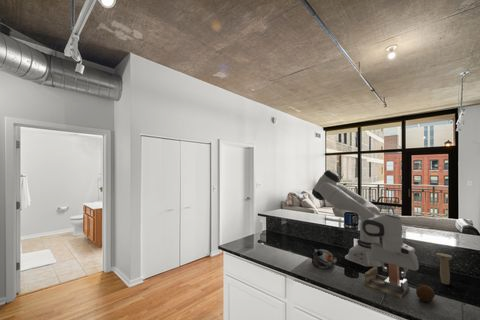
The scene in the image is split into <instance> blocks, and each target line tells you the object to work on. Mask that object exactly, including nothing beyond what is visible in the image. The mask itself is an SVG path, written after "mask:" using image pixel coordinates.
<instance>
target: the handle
mask: <svg viewBox="0 0 480 320" xmlns="http://www.w3.org/2000/svg"><path fill="white" fill-rule="evenodd" d="M435 256H436V257H437V258H438V259H439V277H440V282H441V283H442V284H444V285H450V282H451V281H450V280H451V273H450V265H449V263H450V262H449V261H450V260H452V259H453V255H451V254H446V253H441V252H436V253H435Z"/></svg>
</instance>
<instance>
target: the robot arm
mask: <svg viewBox="0 0 480 320" xmlns="http://www.w3.org/2000/svg"><path fill="white" fill-rule="evenodd" d="M311 193H312V197H314V198H315V199H317V200H318V201H324V200H325V201H326V202H328V204H329V205H331V206H332V207H334V208H336V209H337V210H340V211H349V212H352V213H354V214H356V215H358V216H359V217H360V221H359V223H360V225H359V238H358V239H357V240H356V243H357V244H356V245H354V246H352V247H351V248H349V250H348V254H345V256H344V259H345V260H347V261H349V262H353V263H355V264H358V265H360V266H363V267H372V268H373V267H377V268H380V267H382V271H383V272H386V273H387V272H388V267H387V266H386V265H385V264H388V263H390V264H394V265H397V266H398V267H399V268H403V271H401V272H400V276H401V277H402V278H406V274H407V272H408V271H409V270H410V271H413V272H416V271H418V270H419V267H420V265H419V260H418V256H417V255H416V253H415V252H416V249H415V247H412V246H410V245H408V244H406V243H404V240H403V234H404V230H403V222H402V220H401V218H400V217H399V216H398V215H397V214H394V213H389V212H388V213H387V212H384V213H383V214H381V211H380V209H379V208H378V206H376V205H375V204H374V203H372V202H370V201H369V200H368V199H365V198H364V197H363V196H361V195H359V194H358V193H357V192H355V191H353V190H352V189H350V188H348V187H347V186H345V185H344V184H342V183H341V181H340V175H339V174H338V173H337V172H336V171H334V170H330V169H327V170H325V172H323V174H322V175H321V176H320V177H319V179H318V180H317V182H316V184H315V185H314V187H313V189H312V190H311ZM380 238H382V243H381V241H380Z"/></svg>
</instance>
